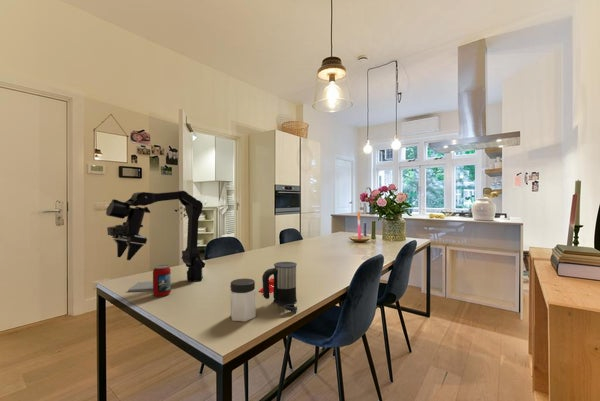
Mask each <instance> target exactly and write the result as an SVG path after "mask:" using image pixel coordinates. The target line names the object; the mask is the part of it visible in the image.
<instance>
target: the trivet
mask: <svg viewBox="0 0 600 401" xmlns="http://www.w3.org/2000/svg"><path fill="white" fill-rule="evenodd" d="M150 291H151V292H153V280H151V281H139V282H136V283H135V284H134V285H132V286H131V287H130V288H129V289H128V293H135V292H150Z"/></svg>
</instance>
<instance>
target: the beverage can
mask: <svg viewBox="0 0 600 401" xmlns="http://www.w3.org/2000/svg"><path fill="white" fill-rule="evenodd" d="M171 271H172V270H171V268H170V265H169V264H160V265H156V266H154V268H153V270H152V281H153V291H152V294H153V296H155V297H158V298H159V297H166V296H168V295H169V294H171V293H172V283H171V282H172V281H171V280H172V279H171V278H172V276H171V273H172V272H171Z"/></svg>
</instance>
